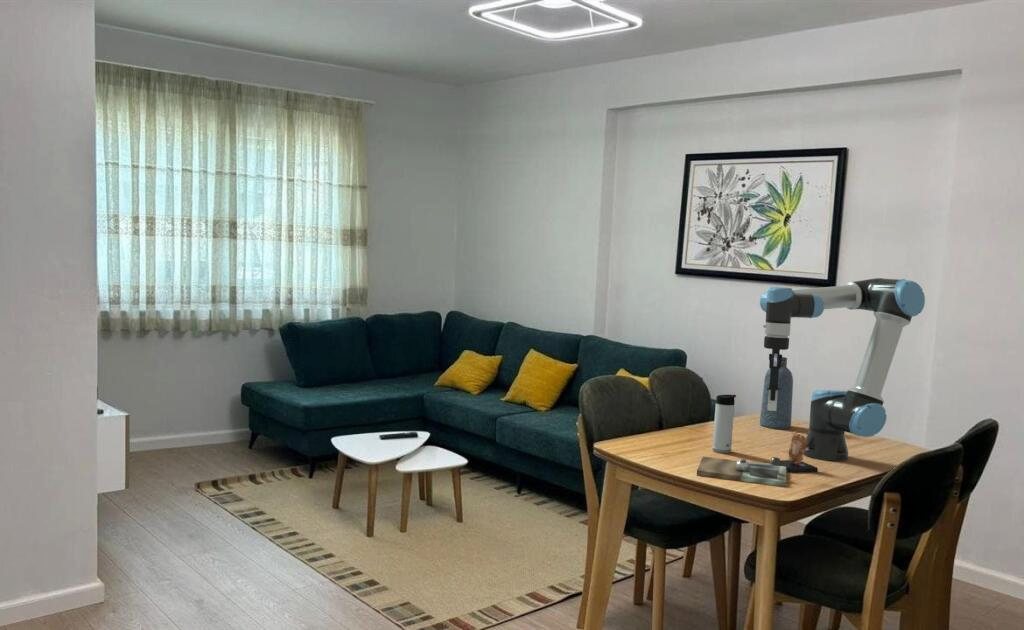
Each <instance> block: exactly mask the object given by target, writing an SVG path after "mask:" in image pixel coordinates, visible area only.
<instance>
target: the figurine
mask: <svg viewBox="0 0 1024 630" xmlns="http://www.w3.org/2000/svg"><path fill="white" fill-rule="evenodd" d="M789 446H790V447H789V449H788V459H782V460H781V459H780V463H779V465H780V466H785V467H786V473H787V472H788V473H789V474H798V473H799V474H800V473H801V474H803V473H807V474H808V473H818V469H819V468H818V467H817V466H814V465H811V464H809V463H807V462H804V456H803V455H804V454H803V453H804V452H805V451H806V450H809V449H808V448H809V447H807V448H805V447H806V446H807V440H806V436H804V434H803V433H798V432H797V431H796V430H794V431H793V432H792V437H791V443H790V445H789ZM803 449H805V450H803Z"/></svg>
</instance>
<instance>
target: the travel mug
mask: <svg viewBox="0 0 1024 630" xmlns="http://www.w3.org/2000/svg"><path fill="white" fill-rule="evenodd" d="M736 398H737V395H736V394H719V395H716V400H715V401H716V402H715V407H714V409H715V410H714V423H713V424H714V425H713V436H712V439H713V440H712V447H711V448H712V451H713V452H714V453H718V454H730V453H732V442H733V441H732V439H733V428H734V414H735V399H736Z"/></svg>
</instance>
